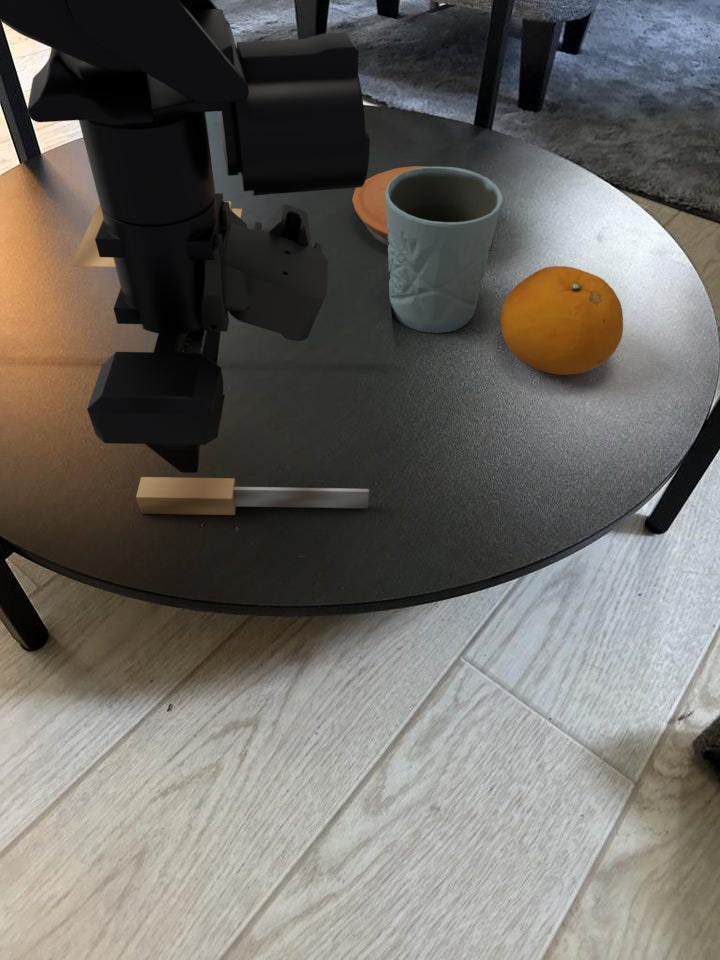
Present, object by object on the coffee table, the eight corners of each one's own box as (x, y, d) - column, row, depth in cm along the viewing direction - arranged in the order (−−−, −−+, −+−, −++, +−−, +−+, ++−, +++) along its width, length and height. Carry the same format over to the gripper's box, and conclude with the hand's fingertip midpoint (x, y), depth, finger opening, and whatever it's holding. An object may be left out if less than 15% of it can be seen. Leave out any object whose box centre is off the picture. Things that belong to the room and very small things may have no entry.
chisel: (141, 514, 55) (135, 497, 53) (145, 493, 56) (140, 476, 55) (368, 517, 55) (369, 500, 54) (367, 496, 57) (368, 480, 55)
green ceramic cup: (502, 312, 73) (526, 197, 64) (429, 353, 68) (445, 236, 59) (430, 267, 78) (443, 154, 68) (358, 302, 73) (361, 187, 64)
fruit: (573, 410, 64) (599, 336, 58) (474, 356, 68) (488, 282, 62) (629, 353, 69) (658, 280, 63) (533, 307, 73) (552, 234, 67)
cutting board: (73, 276, 74) (70, 265, 74) (100, 214, 82) (97, 204, 81) (232, 279, 75) (230, 269, 74) (243, 218, 83) (242, 208, 82)
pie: (447, 288, 75) (454, 245, 71) (324, 239, 80) (324, 196, 77) (514, 225, 84) (523, 183, 80) (398, 184, 89) (402, 143, 85)
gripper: (311, 312, 31) (316, 533, 43) (323, 120, 43) (324, 333, 55) (45, 306, 31) (124, 531, 43) (132, 115, 43) (175, 330, 55)
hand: (199, 419), depth 49 cm, fingers open, 9 cm apart
